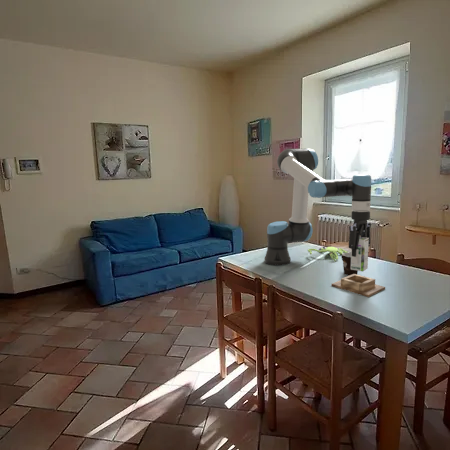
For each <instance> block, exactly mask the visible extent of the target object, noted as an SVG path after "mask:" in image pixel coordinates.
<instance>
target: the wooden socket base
mask: <svg viewBox="0 0 450 450" xmlns="http://www.w3.org/2000/svg"><path fill="white" fill-rule="evenodd" d="M330 286H331V287H334V288H337V289H340V290H343V291H348V292H351V293H354V294H356V295H360V296H363V297H366V298H370V297H371V296H373V295H376V294H377V293H380V292H382V291H384V290H386V286H383V285H380V284H376V279H375V278H372V277H367V276H365V275H364V276H363V275H360V274H358V273H357V274H352V275H347V276H345V277H342V278H340V280H338V281H334V282H332V283H331V285H330Z"/></svg>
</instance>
